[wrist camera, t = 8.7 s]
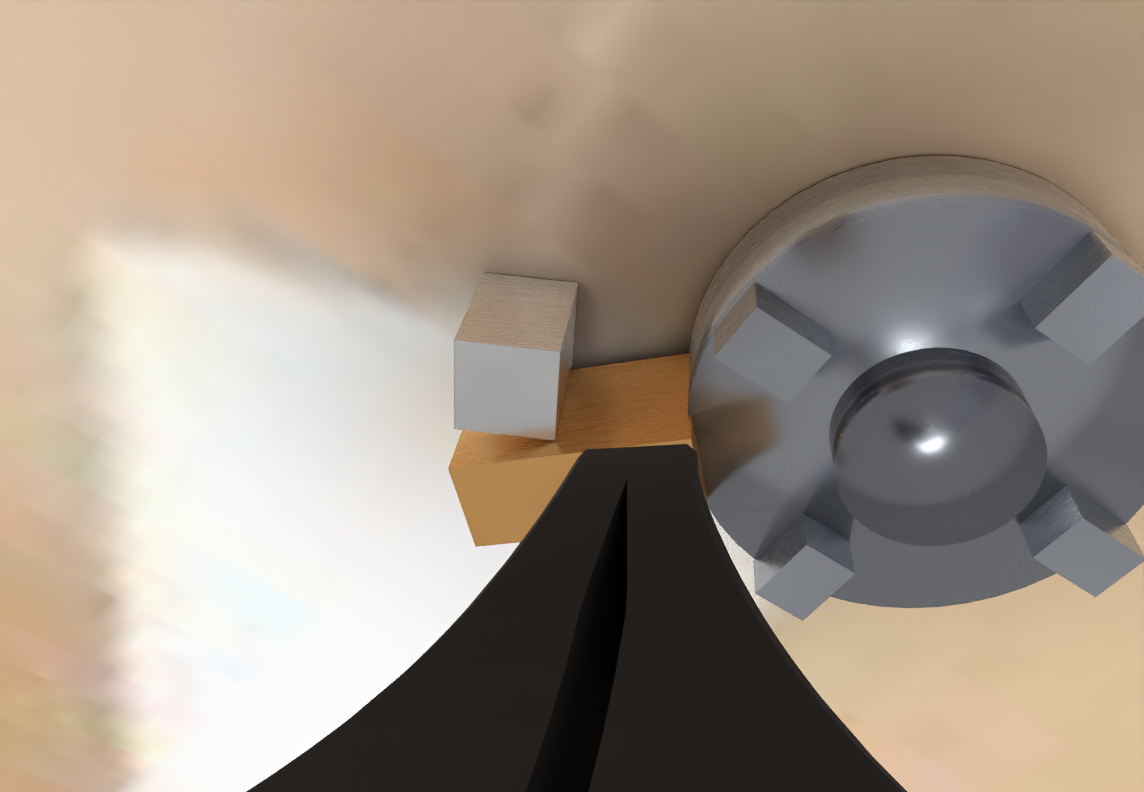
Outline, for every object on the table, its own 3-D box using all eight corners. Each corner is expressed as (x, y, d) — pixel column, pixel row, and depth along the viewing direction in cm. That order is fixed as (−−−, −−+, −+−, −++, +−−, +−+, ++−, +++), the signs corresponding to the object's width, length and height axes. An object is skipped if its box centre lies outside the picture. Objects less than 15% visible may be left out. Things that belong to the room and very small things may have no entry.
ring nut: (1153, 113, 18) (1248, 185, 15) (1126, 511, 22) (1195, 631, 19) (435, 238, 21) (387, 320, 17) (539, 567, 25) (514, 680, 22)
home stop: (690, 278, 21) (688, 348, 18) (683, 455, 23) (681, 539, 20) (471, 272, 21) (439, 339, 19) (486, 446, 23) (459, 527, 21)
